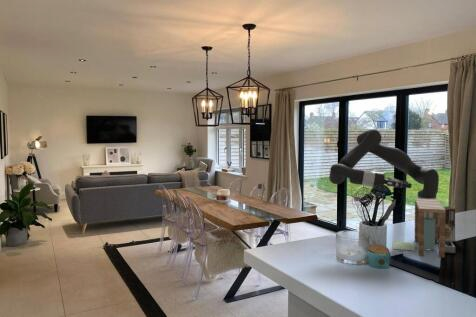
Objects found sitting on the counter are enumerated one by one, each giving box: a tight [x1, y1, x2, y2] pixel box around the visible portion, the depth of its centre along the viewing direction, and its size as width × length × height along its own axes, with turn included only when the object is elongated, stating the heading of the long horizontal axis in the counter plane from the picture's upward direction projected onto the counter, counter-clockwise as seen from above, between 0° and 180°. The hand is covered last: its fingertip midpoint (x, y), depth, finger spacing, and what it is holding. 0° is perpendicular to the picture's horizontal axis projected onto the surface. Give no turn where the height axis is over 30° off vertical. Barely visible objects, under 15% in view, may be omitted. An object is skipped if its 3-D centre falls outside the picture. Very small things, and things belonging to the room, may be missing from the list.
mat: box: [392, 240, 416, 252], centre depth 171 cm, size 12×9×1 cm
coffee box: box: [431, 205, 456, 242], centre depth 179 cm, size 9×6×16 cm
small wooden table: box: [414, 198, 446, 258], centre depth 166 cm, size 23×10×21 cm, turn 158°
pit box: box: [445, 241, 456, 255], centre depth 164 cm, size 9×4×3 cm, turn 158°
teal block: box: [424, 217, 436, 251], centre depth 166 cm, size 5×5×14 cm
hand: (409, 184), depth 166 cm, fingers open, 8 cm apart
